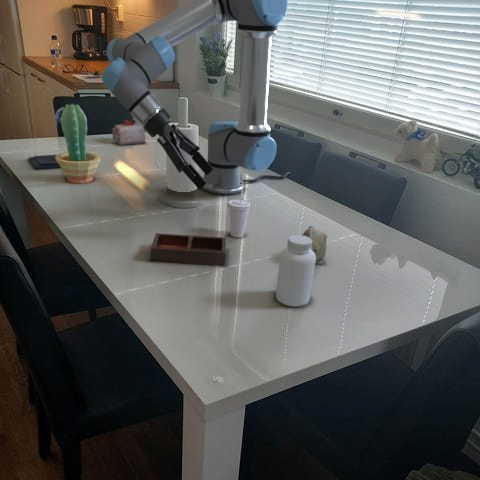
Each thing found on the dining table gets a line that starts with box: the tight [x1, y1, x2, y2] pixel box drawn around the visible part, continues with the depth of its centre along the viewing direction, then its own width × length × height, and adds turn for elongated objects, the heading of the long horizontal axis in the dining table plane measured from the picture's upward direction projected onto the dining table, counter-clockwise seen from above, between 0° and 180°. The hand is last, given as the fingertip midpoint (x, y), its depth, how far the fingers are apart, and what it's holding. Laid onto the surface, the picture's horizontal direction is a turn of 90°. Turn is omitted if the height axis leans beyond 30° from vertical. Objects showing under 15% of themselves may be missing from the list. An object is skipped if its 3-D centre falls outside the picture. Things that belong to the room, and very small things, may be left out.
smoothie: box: [227, 187, 251, 238], centre depth 144 cm, size 6×6×14 cm
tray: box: [150, 232, 227, 266], centre depth 132 cm, size 10×19×4 cm, turn 90°
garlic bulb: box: [301, 225, 328, 264], centre depth 134 cm, size 9×8×10 cm
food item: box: [111, 119, 146, 146], centre depth 227 cm, size 14×8×10 cm, turn 123°
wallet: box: [28, 154, 61, 170], centre depth 196 cm, size 20×2×15 cm
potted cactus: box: [54, 103, 101, 184], centre depth 174 cm, size 15×15×25 cm
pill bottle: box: [275, 234, 316, 307], centre depth 113 cm, size 8×8×15 cm
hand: (206, 179), depth 139 cm, fingers open, 13 cm apart
